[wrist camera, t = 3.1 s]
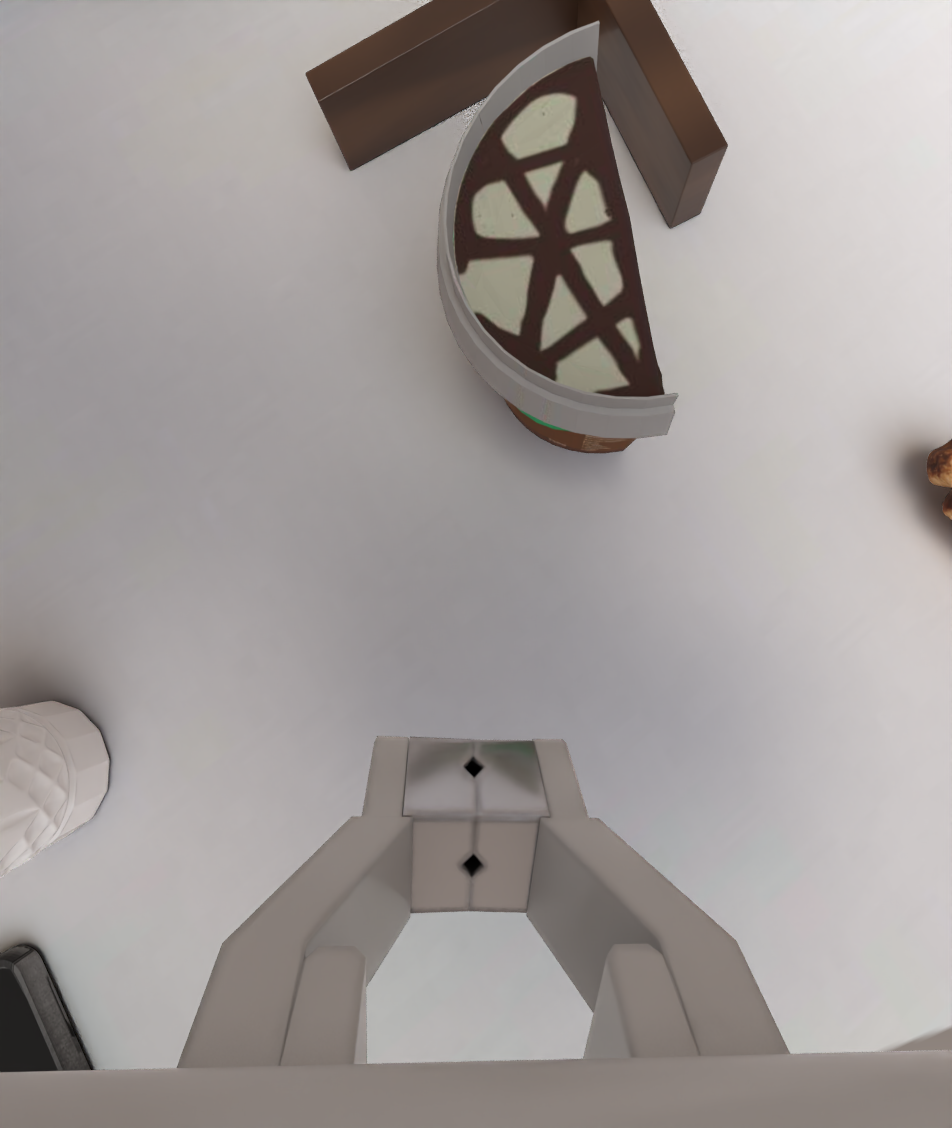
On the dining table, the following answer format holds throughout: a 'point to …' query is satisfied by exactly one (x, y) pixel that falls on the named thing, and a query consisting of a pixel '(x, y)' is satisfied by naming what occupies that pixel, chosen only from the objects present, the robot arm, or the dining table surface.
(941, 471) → the lashed bone hook
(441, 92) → the corner guide
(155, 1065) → the dining table surface
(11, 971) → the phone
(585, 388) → the food container
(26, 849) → the white cup
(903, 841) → the dining table surface
